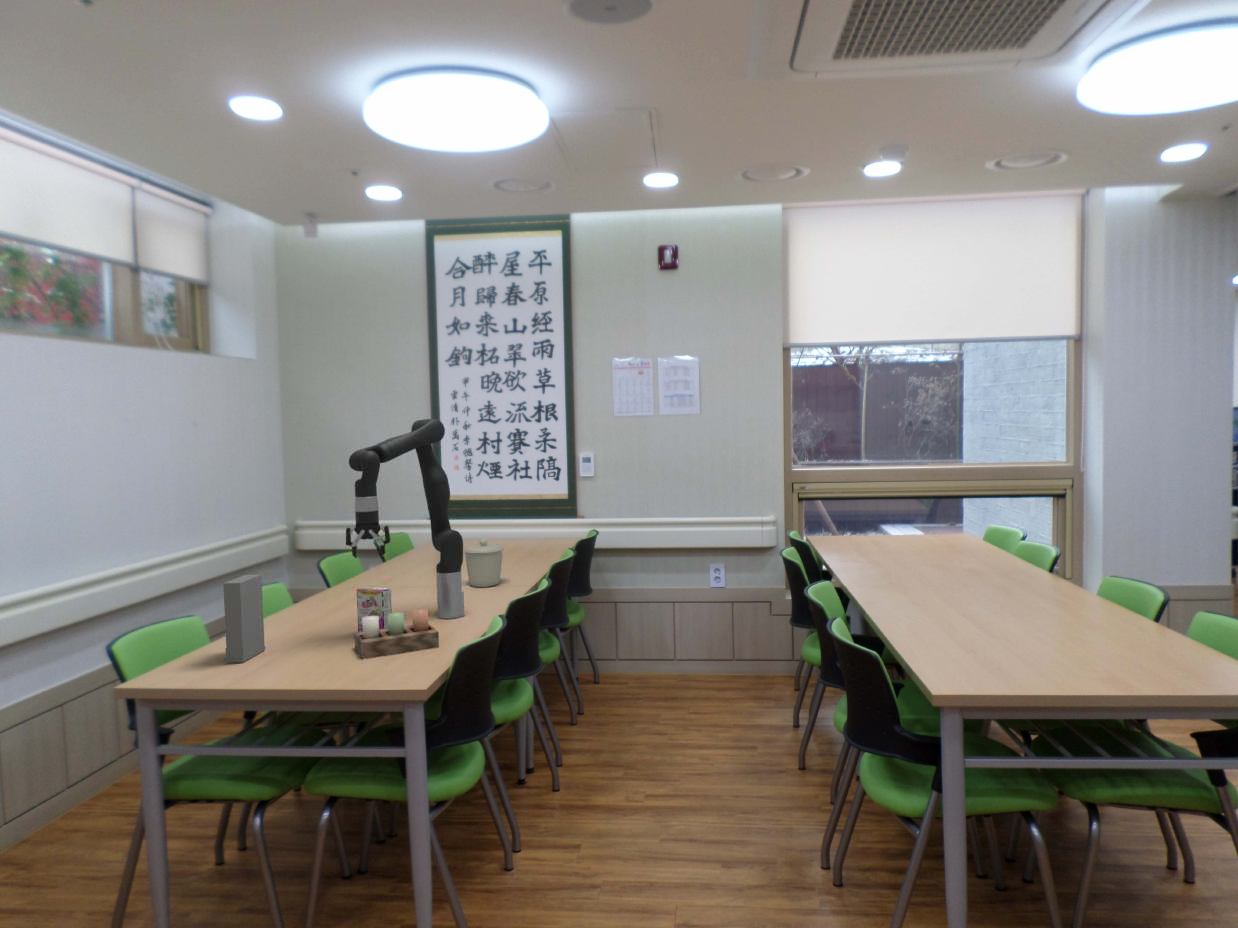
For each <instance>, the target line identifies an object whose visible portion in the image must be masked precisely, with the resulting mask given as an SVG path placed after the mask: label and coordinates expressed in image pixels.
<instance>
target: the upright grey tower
mask: <svg viewBox="0 0 1238 928" xmlns="http://www.w3.org/2000/svg"><path fill="white" fill-rule="evenodd" d="M262 580H263V577H262V574H245V575H242V576H239V577H237V578H234V579H232V580H229V581H226V582H224V583H223V601H224V602H223V603H224V605H223V606H224V625H225V644H226V645H225V646H226V647H225V657H226V658H224V663H226V664H230V663H240V664H244V663H245V662H247V661H248V660H250V659H252V658H254V657H255V656H257V655H259V654H260V653H263V652H264V651H265V650H266V646H265V625H264V624H265V623H264V604H263V585H262V584H263V582H262Z"/></svg>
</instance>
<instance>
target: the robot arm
mask: <svg viewBox="0 0 1238 928" xmlns="http://www.w3.org/2000/svg"><path fill="white" fill-rule="evenodd" d="M410 429H411V430H410V432H407V433H404V434H401V435H400V434H399V435H397V436H394V437H390V438H387V439H386V440H383V441H381V442H379V443H377V444H374V445H372V446H368V447H367V446H366V447H365V448H364V447H363V448H360V449H358V450H355V451H354V452H353V453H351V454H350V455H349V459H348V465H349V467H350V468H351V469H352V470H353V471H356V472H361V473H362V474H361V478H359V479H356V480H355V482H354V497H355V498H354V512H355V513H354V514H355V516H354V517H355V527H350V526H348V527H347V528H346V529H345V545H346V546H348V547H351V554H352V557H354V559H357V558H358V556H359V555H358V554H359V552H358V543H359V542H360V541H361V540H363V541H365V540H373V539H375V541H376V542H378V543H379V545H380V546H379V552H380V554H379V555H380V557H384V555H385V554H386V545H388V544H389V543H390V542H391V533H390V532H391V531H390V525H388V524H387V525H380V517H379V516H380V515H379V500H378V494H377V493H378V492H377V491H378V488H377V482H378V480H379V479H378V478H379V473H380V469H381V464H386V463H387V462H390V461H392V460H394V459H396V458H398V457H401V456H402V455H404V454H407V453H409V452H411V451H413V450H415V453H416V456H417V459H418V463H419V468H420V469H419V470H420V473H421V478H422V484H423V486H422V487H423V490H424V496H425V500H426V505H427V510H428V514H429V521H430V522H429V523H430V531H431V541H432V542H431V543H432V546H433V547H434V549H435V550H436V551H438V552H439V554H440V556H439V562H438V563H437V564H436V567H435V569H436V570H435V571H436V572H435V573H436V597H437V598H436V599H437V600H436V601H437V603H436V604H437V617H438V618H439V619H445V620H449V619H456V618H460V617H464V616H465V597H464V596H465V595H464V590H463V585H462V584H463V582H462V567H463V566H462V565H463V564H464V563H463V562H464V551H463V550H464V540H463V536H462V535H461V533H460V532H459V531H458V530H455V529H452V528H451V524H450V518H449V505H450V499H451V489H450V484H449V478H448V475H447V473H446V471H445V470H444V468H443V467H442V465H441V464H440V462H439V461H438V460H437V458H436V457H435V453H434V450H433V445H432V444H437V443H439V442H441V440H443V438H444V437H445V434H446V428H445V426H444V423H443V422H442V421H440V420H439V419H436V418H425V419H424V418H423V419H419V420H416V421H414V422H413V424H412V425H411V428H410ZM380 531H382V532H383V533H384V539H385V540H384V539H383V538H382V536H381V535H380V534H379V532H380ZM354 532H355V534H357V536H356V537H355V539H354V540H353V541H352V535H353V533H354Z"/></svg>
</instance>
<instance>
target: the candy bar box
mask: <svg viewBox="0 0 1238 928" xmlns="http://www.w3.org/2000/svg"><path fill="white" fill-rule="evenodd" d="M356 607H357V609H356V610H357V611H356V612H357V632H363V626H362V618H363V617H366V616H378V617H379V629H386V628H388V614H390V613H393V612H392V611H393V610H392V608H393V607H392V589H391V588H389V587H375V586H363V587H358V588H357V589H356Z"/></svg>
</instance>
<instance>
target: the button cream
mask: <svg viewBox="0 0 1238 928" xmlns="http://www.w3.org/2000/svg"><path fill="white" fill-rule="evenodd" d="M362 626H363V640H364V639H371V638H378V637H379V617H378V616H366V617H363V618H362Z"/></svg>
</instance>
